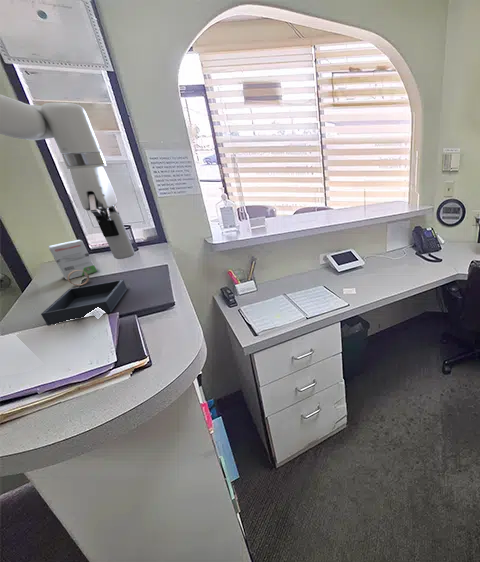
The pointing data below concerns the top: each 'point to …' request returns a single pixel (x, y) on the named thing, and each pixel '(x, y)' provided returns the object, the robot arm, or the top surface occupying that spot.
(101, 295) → the desk tray
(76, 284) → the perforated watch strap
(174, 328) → the top surface
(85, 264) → the ink box
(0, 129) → the robot arm
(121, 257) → the beverage can
